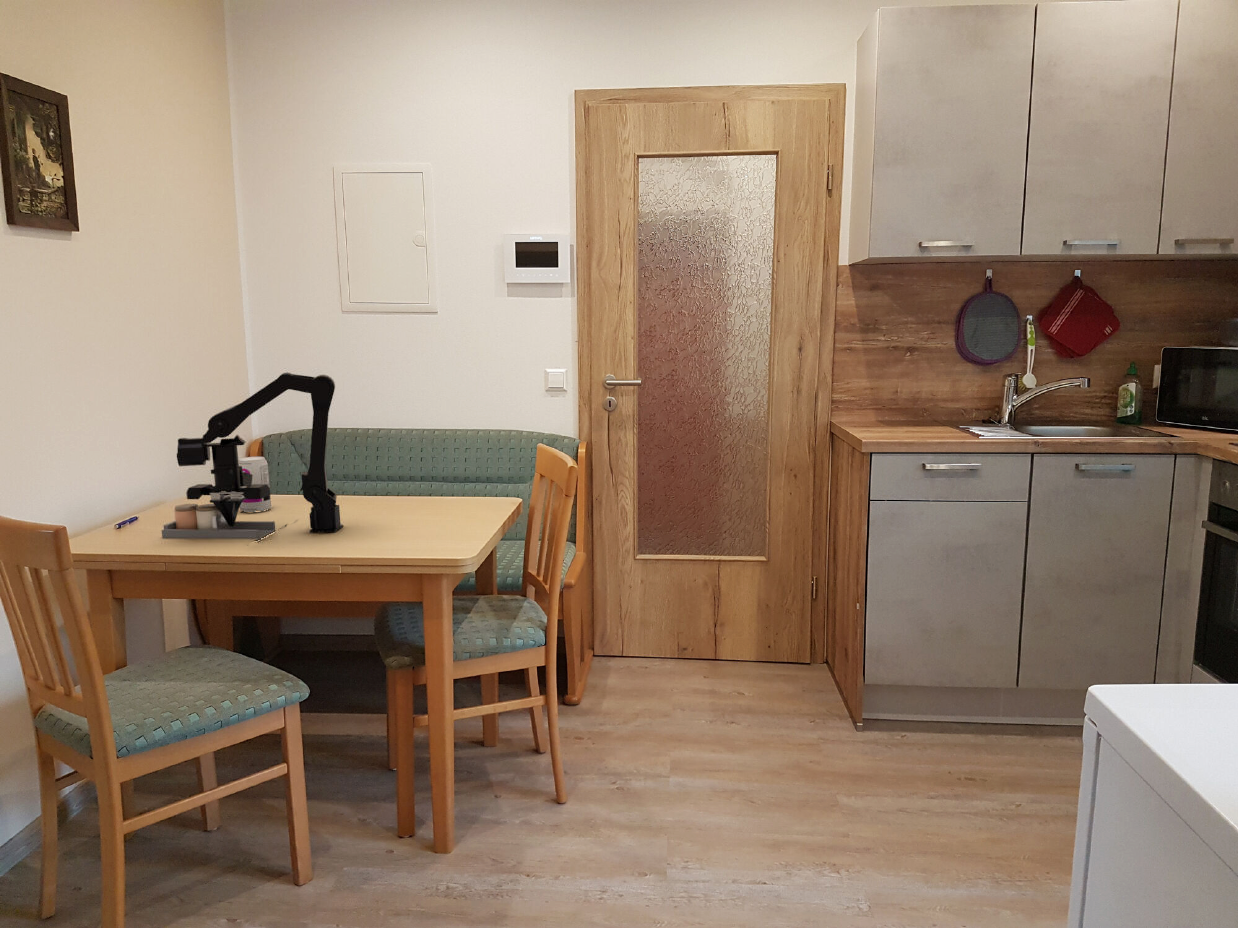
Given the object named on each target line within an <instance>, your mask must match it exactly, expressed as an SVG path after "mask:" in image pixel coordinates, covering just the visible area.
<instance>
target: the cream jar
mask: <svg viewBox="0 0 1238 928" xmlns="http://www.w3.org/2000/svg"><path fill="white" fill-rule="evenodd" d="M218 513H220V511H219V510H218V509H217V507H216V506H215V505H214V504H213V503H206V504H205V503H204V504H200V505H198V506H197V507H196V517H197V527H198V529H213V524H212V516H214V515H216V514H218Z"/></svg>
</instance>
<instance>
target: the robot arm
mask: <svg viewBox="0 0 1238 928" xmlns="http://www.w3.org/2000/svg"><path fill="white" fill-rule="evenodd" d="M335 383H336V382H335V381H334V379H333V378H332V377H331V376H329V375H326V374H319V375H317V376H309V375H302V374H293V373H291V372H288V371H287V372H283V373H281V374H280V375H279V376H278V377H277V378H276V379H274V380H273V381H271V382H270V383H268V384H267V385H266V386H264V387H262V388H261V389H260V390H258V391H256V392H255V393H254V394H252V395H251V396H249V397H248V398H246V399H245V400H243V401H242V402H240V403H238V404H236V405H233V406H231V407H229V408H226V409H225V410H224V409H223V410H222V411H220V412H217V413H215V414H214V415H212V416H211V417H210V418H209V420H208V422H207V429H208V430H207V431H206V432H205V433H204V434H203V435H202V437H195V438H193V437H192V438H191V437H190V438H187V437H180V438H178V439H177V452H176V460H177V464H178V466H179V467H190V466H191V467H194V466H205V465H206V463H207V461H211V457H212V465H213V466H212V468H213V469H210V474H211V475H214V476H213V477H214V485H213V484H212V483H200V484H196V485H192V486H190V487H188V488H187V490H186V491H185V492H186V493H185V494H186V499H187V500H200V498H201V497H202V496H210V500H209V504H214V505H215V506H216V507H217V509H218V510H219V511H220V513H221V514H222V516H223V517H224V519H225V520H226V522H227V523H228V525H229V526H233V525H234V524H235V521H237V517H238V513H239V510H240V505H241V503H242V502H243V500H245V499H262V498H264V497H266V496H269V495H270V496H271V488H269V487H268V485H267V484H253V485H252V476H253V475H252V474H249V473H245V472H243V469H242V466H239V462H238V459H239V453H238V452H239V451H238V446H244V445H245V444H246V441H245V440H244V439H243V438H242V437H240V436H239V434H236V435H235V436H234V437H233V438H226V437H229V436H230V435H232V434H233V432H235V430H237V429H238V427H239V426H240V425H242V423H244V421H246V420H247V419H248V418H249V417H250V416H251V415H253V414H254V413H256V412H257V411H259V410H260V409H261V408H263V407H264V406H266V405H267V404H269V403H270V402H271V401H273V400H275V399H276V398H277V397H279V396H280V395H282V394H283V393H284V392H287V391H288V390H290V391H291V390H292V391H296V392H301V393H305V394H310V399H311V405H312V412H313V413H312V424H311V425H312V427H311V428H312V429H311V440H310V441H311V442H310V456H309V457H310V458H309V467H308V470H307V471H306V470H302V473H301V486H300V489H299V491H300V492H302V497H303V498H304V499H305V500H306V502H308V503H310V504H311V505H312V506H311V507H310V512H309V513H308V514H309V525H310V529H309V533H336V532H337V531H339V530H340V529H342V528H343V527H344V524H341V512H340V504H337V496H338V495H337V494H336V493H335V492H334V491H333V490H332V489H330V488H329V487H328V478H327V477H328V476H327V471H326V455H327V453H326V452H327V440H328V428H329V427H328V426H329V424H328V423H329V412H330V408H331V405H332V401H333V397H334V394H335V390H336V384H335ZM218 438H221V439H220V442H213V441H214V440H216V439H218ZM211 454H212V455H211ZM244 486H247V487H245V488H241V487H244Z"/></svg>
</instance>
